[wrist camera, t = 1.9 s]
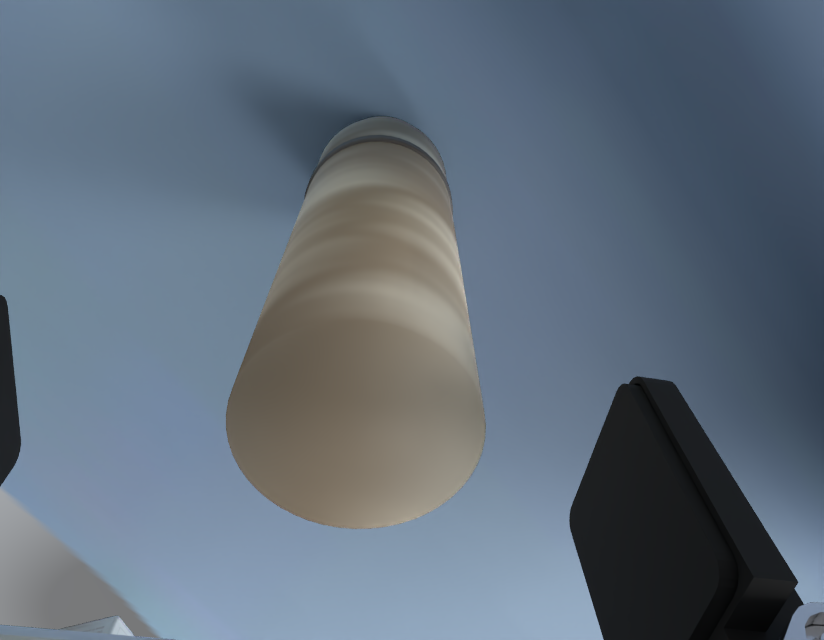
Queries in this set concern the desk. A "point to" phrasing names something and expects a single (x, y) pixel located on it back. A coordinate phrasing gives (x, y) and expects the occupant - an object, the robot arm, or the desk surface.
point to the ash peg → (363, 344)
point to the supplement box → (103, 626)
